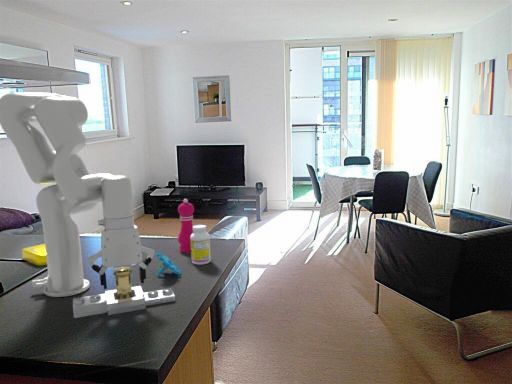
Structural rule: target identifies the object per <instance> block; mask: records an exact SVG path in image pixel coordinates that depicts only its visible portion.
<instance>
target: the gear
mask: <svg viewBox="0 0 512 384" xmlns="http://www.w3.org/2000/svg"><path fill="white" fill-rule="evenodd" d="M155 256H156V257H158V260H159V261H161V264H159V266H158V267H157V270H158V272H157V273H156V275H157V276H158V277H160V276H161V275H162V273H164V272H165V271H166V270H168V269H169V270H170V271H172V272H173V273H174V274H175V275H176V274H177V275H178V276H179V275H181V273H182V272H181V270H180V269H179V268H178V267H177V266H176V265H175V263H173V261H172V260H170V259H169V257H168V256H167V255H164V254H163V253H160V252H159V251H157V252H156V254H155Z"/></svg>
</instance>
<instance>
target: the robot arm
mask: <svg viewBox="0 0 512 384" xmlns="http://www.w3.org/2000/svg"><path fill="white" fill-rule="evenodd" d="M88 113H89V112H88V110H87V106H86V104H85V103H84V102H83V101H82V100H81V99H79V98H77V97H74V96H69V95H68V96H67V95H62V94H58V93H51V92H32V91H31V92H30V91H29V92H28V91H27V92H26V91H21V92H20V91H19V92H10V93H7V94H4V95H2V96H1V97H0V127H1V128H2V130H3V132H4V133H5V134H6V136H7V137H8V139H9V140H10V141H11V143H12V144H13V146H14V147H15V149H16V151H17V153H18V156H19V158H20V160H21V163H22V164H23V166H24V168H25V171H26V172H27V175H28V176H29V178H30V180H31V182H33V183H34V184H35V185H48V186H45V187H43V188H42V189H40V190H39V191H38V193H37V195H36V198H35V199H36V200H35V202H36V207H37V212H38V214H39V216H40V220H41V223H42V224H41V225H42V229H43V230H42V231H43V240H44V244H45V249H46V258H47V264H46V266H47V267H46V268H47V276H46V277H44V278H42V279H39V278H38V279H33V280H31V285H32V287H33V288H34V287H35V288H36V289H39V288H43V294H44V295H46V296H48V297H51V298H61V297H63V298H64V297H70V296H74V295H75V296H76V295H78V294H80V293H83V292H86V291H87V290H88V289H90V285H91V283H90V281H89V280H88V279H85V278H84V269H83V267H84V266H83V257H82V246H81V235H80V229H79V227H78V225H77V224H76V222H75V220H74V219H72V217H71V216H74V215H77V214H80V213H85V212H89V211H91V210H93V209H95V208H96V206H97V205H98V203H101V202H102V214H103V218H102V219H100V220H97V225H98V226H101V227H104V228H102V229H101V234H100V250H99V251H97V252H96V253H94V254H93V255H91V256H89V257H88V258H87V259H86V262H87V263H88V265H89V266H90V267H91V269H92V270H93V271H95V272H96V273H97V274H98V275H99V280H100V286H103V290H107V289H108V286H107V274H106V271H107V269H112V268H113V269H116V268H120V267H130V266H135V265H138V266H139V269H138V270H139V272H138V273H139V280H140V281H139V282H140V283H141V284H145V280H146V279H147V271H146V269H147V267H148V266H149V265H150V264H151V262H152V260H153V258H154V256H155V255H156V254H155V253H156V252H155V250H154V249H151V248H149V247H146V246H143V245H142V244H141V237H140V233H139V229H138V226H137V225H135V221H134V219H135V217H134V206H133V195H132V194H133V192H132V181H131V178H130V177H129V176H127V175H121V174H119V175H117V174H111V173H108V172H107V173H106V172H101V173H95V174H94V173H93V174H90V173H89V171H88V169H87V167H86V165H85V163H84V161H83V159H82V158H81V157H80V156H79V154H78V153H79V152H81V150H83V149H84V148H85V146H86V143H87V138H86V137H85V135H84V134H83V132H82V130H81V128H80V127H82V126H83V125H85V124H86V123H87V121H88V116H89V115H88ZM30 122H31V123H32V122H33V123H34V122H37V123H38V124H39V125H40V127H41V128H42V130H43V132H44V134H45V135H44V134H43V133H42V132H41V131H40V130H38V128H36V127H35V126H33V125H31V123H30ZM45 136H46V137H47V139H48V140H49V142H50V144H51V145H52V147H53V149H52V148H51V146H50V145H49V142H48V141H47V139H46V137H45ZM50 184H51V185H50ZM143 253H145V254H147V257H146V258H145V259H144V260H143ZM99 258H101V263H102V264H101V265H100V266H99V265H98V264H96V262H95V261H96V260H99Z"/></svg>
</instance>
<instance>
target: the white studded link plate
mask: <svg viewBox="0 0 512 384" xmlns="http://www.w3.org/2000/svg"><path fill="white" fill-rule="evenodd" d="M104 292H105V293H100V294H93V295H87V296H82V297H81V296H80V297H74V298H72V310H73V311H72V312H73V318H74V319H77V318H83V317H88V316H94V315H100V314H106V313H107V316H113V315H116V314H117V315H119V314H122V313H123V314H124V313H129V312H134V311H141V310H146V308H147V307H148V306H153V305H160V304H161V305H162V304H165V303H171V302H176V294H175V293H174V291H173V289H172V287H171V288H165V289H159V290H158V289H157V290H151V291H146V292H144V291H143V289H142V286H141V285H137V286H132V297H130V298H124V299H118V300H117V293H116V289H111V290H110V289H109V290H106V291H104Z"/></svg>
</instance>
